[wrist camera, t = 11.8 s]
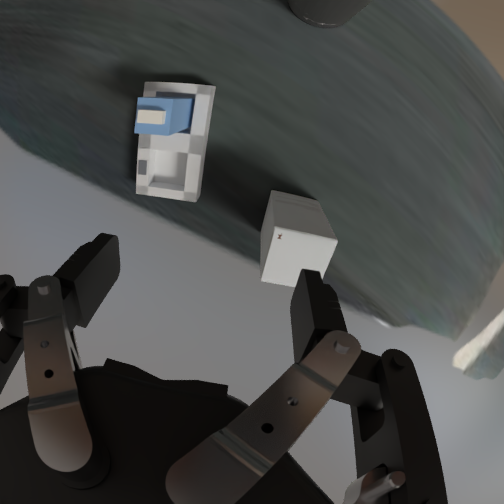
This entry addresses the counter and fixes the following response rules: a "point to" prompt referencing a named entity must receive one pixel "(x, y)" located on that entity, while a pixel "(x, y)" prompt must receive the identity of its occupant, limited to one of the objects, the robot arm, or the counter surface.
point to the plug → (163, 115)
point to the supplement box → (294, 238)
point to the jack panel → (175, 147)
